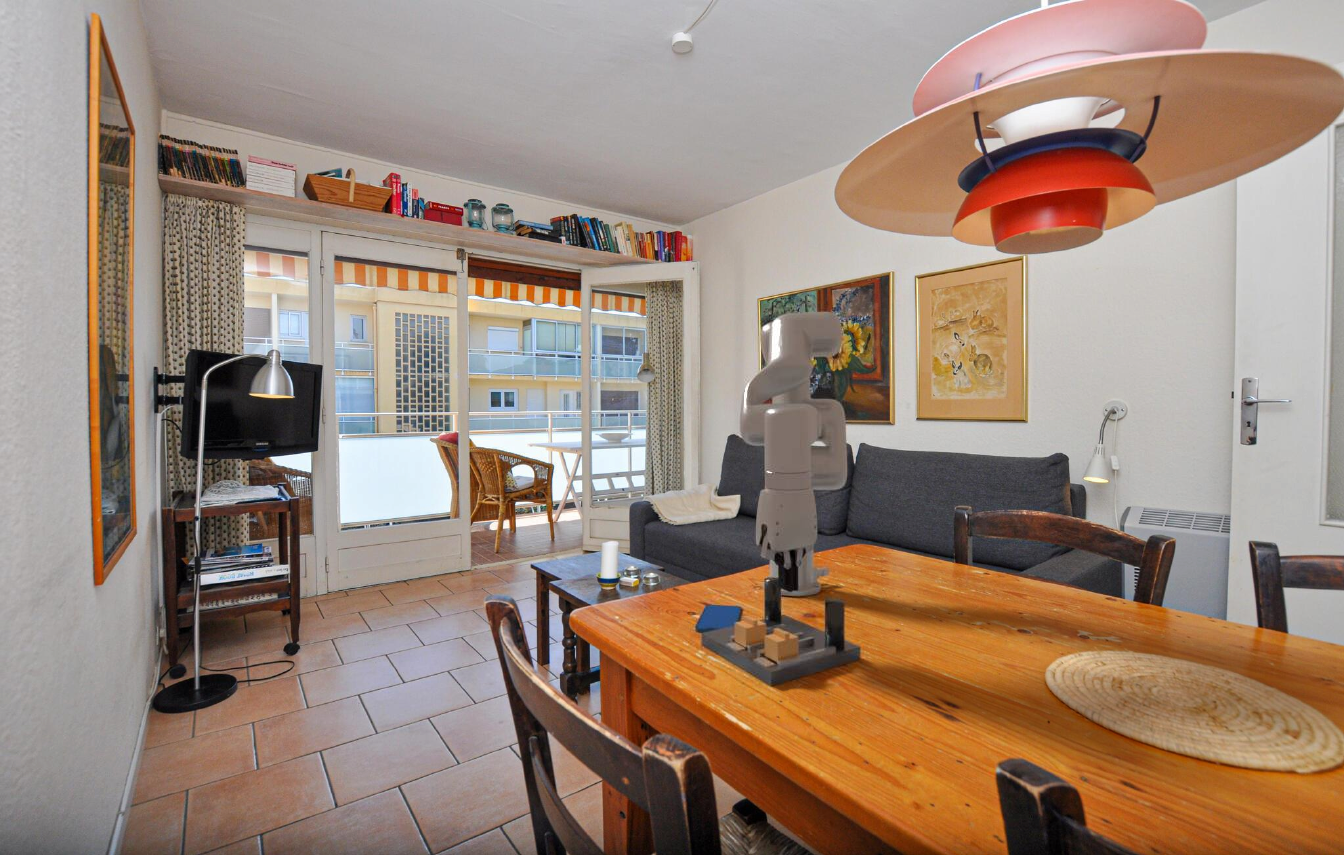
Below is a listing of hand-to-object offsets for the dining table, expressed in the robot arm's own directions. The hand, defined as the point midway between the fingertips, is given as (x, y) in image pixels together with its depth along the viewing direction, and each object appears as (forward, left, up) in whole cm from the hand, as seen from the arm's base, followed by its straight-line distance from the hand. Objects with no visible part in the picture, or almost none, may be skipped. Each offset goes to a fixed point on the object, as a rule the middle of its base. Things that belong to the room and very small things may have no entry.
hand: (788, 588), depth 101 cm
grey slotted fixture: (+4, +2, -9) cm, 10 cm away
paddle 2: (+8, +8, -7) cm, 14 cm away
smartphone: (+3, -16, -10) cm, 19 cm away
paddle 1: (+9, +1, -7) cm, 11 cm away
